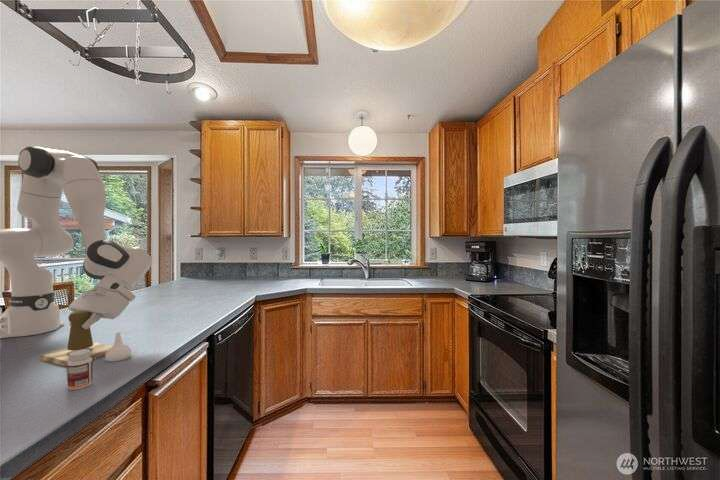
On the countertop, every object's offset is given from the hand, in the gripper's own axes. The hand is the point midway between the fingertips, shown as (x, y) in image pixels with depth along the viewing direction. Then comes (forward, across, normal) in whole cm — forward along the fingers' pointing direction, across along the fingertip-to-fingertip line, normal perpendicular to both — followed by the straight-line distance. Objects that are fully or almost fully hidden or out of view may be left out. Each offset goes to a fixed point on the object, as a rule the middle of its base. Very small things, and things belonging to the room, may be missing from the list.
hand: (77, 327), depth 99 cm
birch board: (+6, 0, +7) cm, 9 cm away
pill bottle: (+14, +23, -2) cm, 27 cm away
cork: (+4, 0, +5) cm, 6 cm away
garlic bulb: (+4, +13, +9) cm, 16 cm away
